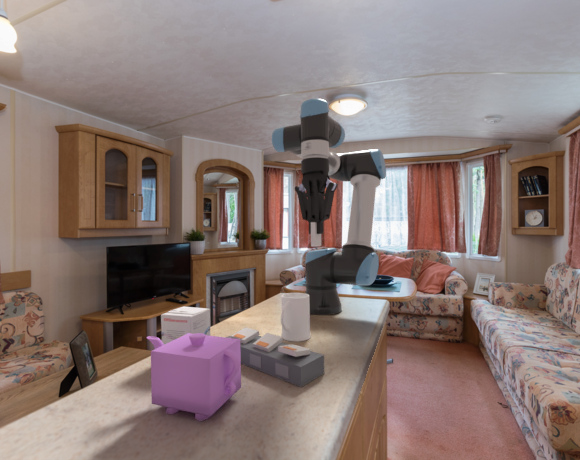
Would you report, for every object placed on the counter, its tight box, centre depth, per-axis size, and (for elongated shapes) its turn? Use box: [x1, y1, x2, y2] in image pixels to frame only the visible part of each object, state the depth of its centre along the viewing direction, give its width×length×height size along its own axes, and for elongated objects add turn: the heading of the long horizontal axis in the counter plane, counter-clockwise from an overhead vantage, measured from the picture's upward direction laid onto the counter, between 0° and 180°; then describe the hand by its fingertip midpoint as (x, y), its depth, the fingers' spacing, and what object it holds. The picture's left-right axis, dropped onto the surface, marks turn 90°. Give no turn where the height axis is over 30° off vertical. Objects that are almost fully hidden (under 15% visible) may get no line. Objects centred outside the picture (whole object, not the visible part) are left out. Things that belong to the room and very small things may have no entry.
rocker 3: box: [278, 343, 312, 357], centre depth 72 cm, size 5×5×1 cm
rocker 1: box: [230, 326, 261, 344], centre depth 82 cm, size 5×5×1 cm
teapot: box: [146, 333, 242, 421], centre depth 60 cm, size 20×10×12 cm, turn 70°
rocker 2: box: [253, 332, 284, 352], centre depth 77 cm, size 5×5×1 cm
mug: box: [280, 292, 312, 342], centre depth 94 cm, size 12×8×12 cm
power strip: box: [225, 335, 325, 388], centre depth 79 cm, size 8×32×4 cm, turn 49°
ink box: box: [160, 306, 211, 345], centre depth 81 cm, size 9×8×12 cm
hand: (316, 246), depth 90 cm, fingers closed
